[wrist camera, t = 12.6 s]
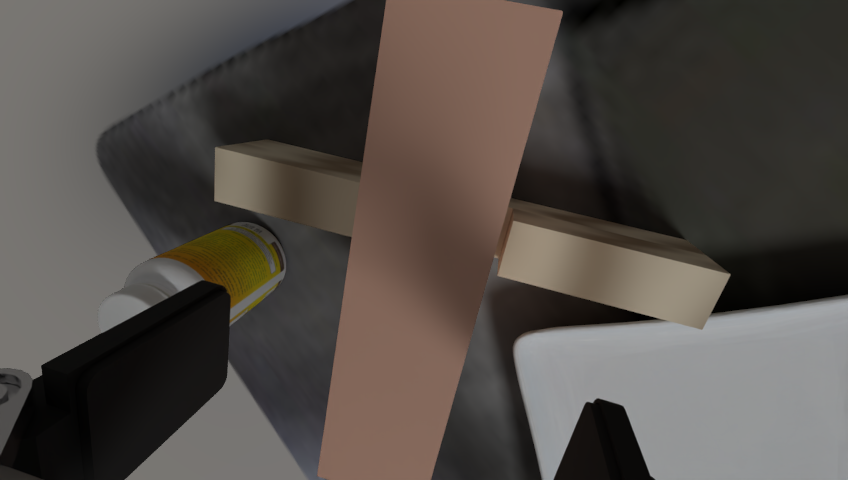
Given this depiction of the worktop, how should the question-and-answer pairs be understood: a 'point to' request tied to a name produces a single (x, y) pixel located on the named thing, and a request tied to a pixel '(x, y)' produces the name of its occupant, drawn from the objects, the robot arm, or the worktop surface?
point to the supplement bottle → (203, 272)
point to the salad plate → (702, 390)
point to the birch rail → (518, 243)
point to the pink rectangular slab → (428, 223)
